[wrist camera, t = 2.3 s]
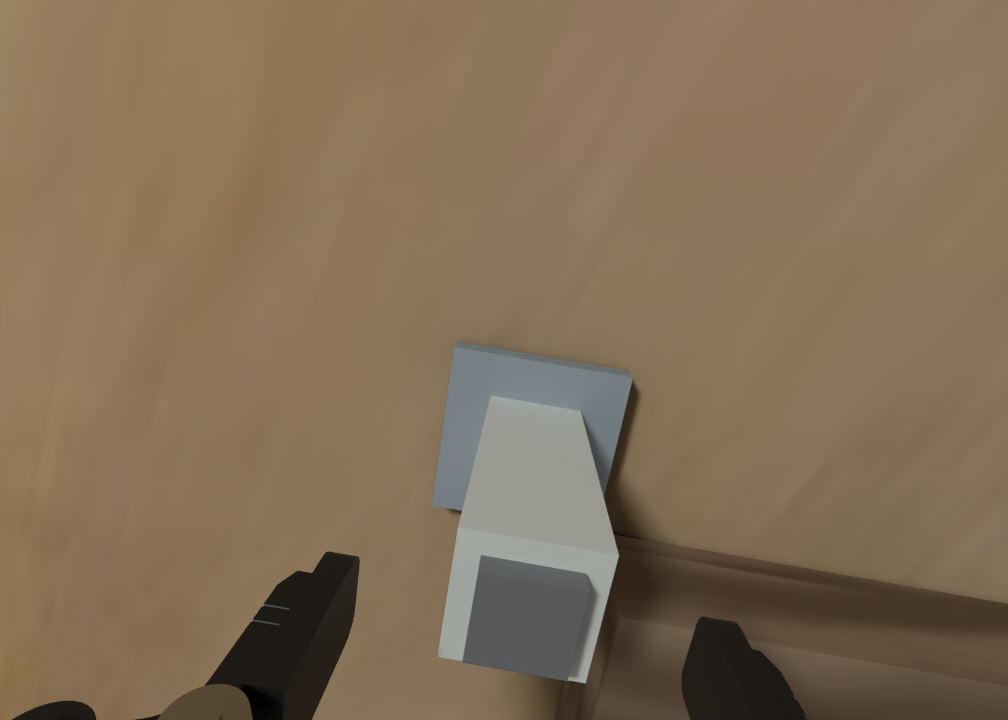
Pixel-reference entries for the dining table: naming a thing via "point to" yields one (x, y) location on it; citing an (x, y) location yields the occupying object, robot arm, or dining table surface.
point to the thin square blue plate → (529, 381)
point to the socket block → (792, 640)
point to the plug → (530, 547)
